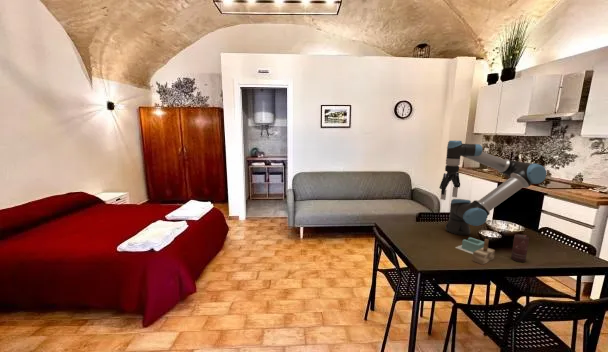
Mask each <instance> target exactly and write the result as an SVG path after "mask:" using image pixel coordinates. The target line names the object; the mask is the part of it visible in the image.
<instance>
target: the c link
mask: <svg viewBox="0 0 608 352" xmlns="http://www.w3.org/2000/svg"><path fill="white" fill-rule="evenodd" d="M484 241H485V240H484ZM484 241H483V240H480V239H476V238H474V237H471V236H469V237H468V238H467V239H464V238H463V239H462V241H461V245H462V248H463V249H465V250H468V251H471V252H475V251H477V250H479V249H481V248H483V247H484Z"/></svg>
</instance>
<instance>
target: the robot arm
mask: <svg viewBox="0 0 608 352" xmlns="http://www.w3.org/2000/svg"><path fill="white" fill-rule="evenodd" d="M461 157H463V158H466V159H469V160H471V161H474V162H476V163H479V164H480V165H481V164H482V165H484V166H486V167H489V168H492V169H494V170H497V171H498V173H501V174H503V175H506V176H507V177H509V178H508V179H506V180H505V181H504V182H503V183H501V184H499V185H498V186H497V187H495V188H494V189H493V190H491V191H490V192H488V193H487V194H485V195H484V196H483V197H482V198H480V199H479V200H476V199H475V200H473V201H471V200H469V199H462V198H458V189H460V188H461V181H460V172H459V171H460V161H461ZM444 171H445V172H446V173H443V177H442V179H441V182H440V184H439V189H440V190H441V191H440V192H441V193H440V200H443V201H446V198H447V187H448V185H449V184H450V182H452V185H453V186H452V194H451V197H452V198H453V199H451V201H450V207H449V208H450V209H449V217H448V221H447V223H446V224H445V227H444V228H445V229H446V230H447V231H446V230H445V231H446V232H448V231H449V232H448V233H450V232H451V233H450V234H453V233H454V235H457V234H458V235H459V236H469V235H471V228H470V226H472V227H473V226H474V227H478V226H482V225H483V224H485V223H486V222H487V219H488V216H490V212H491V211H493V210H494V208H496V207H497V206H499V205H500V204H501V203H503V202H504V201H506V200H507V199H508V198H510V197H511V196H513V195H514V194H515V193H517V192H519V191H520V190H521V189H522V188H526V189H527V188H529V187H530V186H532V185H534V184H535V185H537V184H541V183H543V182H544V181H545V179H546V178H547V174H548V173H547V169H546V168H545V167H544V166H543V165H542V164H538V163H535V162H534V163H531V162H523V161H516V160H510V159H508V158H504V159H503V158H501V157H498V156H496V155H493V154H490V153H488V152H485V151H483V146H482V144H480V143H479V144H477V143H463V141H462V140H449V141H448V142H447V147H446V158H445V168H444Z"/></svg>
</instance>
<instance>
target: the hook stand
mask: <svg viewBox="0 0 608 352" xmlns="http://www.w3.org/2000/svg"><path fill="white" fill-rule="evenodd" d="M489 241H490V239H489V238H484V247H483V248H481V249H479V250H477V251H475V252H473V254H472V260H471V261H472V262H475V263H477V264H480V265H482V266H483V265H485V264H487V263H488V262H489V263H490V261H493V260H494V259H495V253H496V250H495V249H493V248H489Z"/></svg>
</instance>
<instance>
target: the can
mask: <svg viewBox="0 0 608 352" xmlns="http://www.w3.org/2000/svg"><path fill="white" fill-rule="evenodd" d="M529 243H530V237H529V235H527V234H522V233H515V234H514V237H513V242H512V250H511V251H512V252H511V260H513V261H516V262H519V263H525V262H526V261H527V255H528V247H529Z"/></svg>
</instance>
